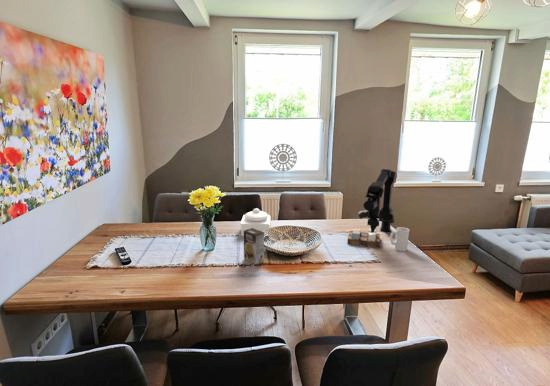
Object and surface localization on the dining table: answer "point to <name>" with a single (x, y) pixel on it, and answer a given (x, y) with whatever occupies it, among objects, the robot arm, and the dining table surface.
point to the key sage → (371, 232)
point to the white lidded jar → (255, 221)
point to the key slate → (356, 235)
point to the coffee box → (253, 245)
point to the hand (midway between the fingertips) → (372, 232)
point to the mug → (400, 238)
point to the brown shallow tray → (364, 240)
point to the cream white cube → (372, 237)
